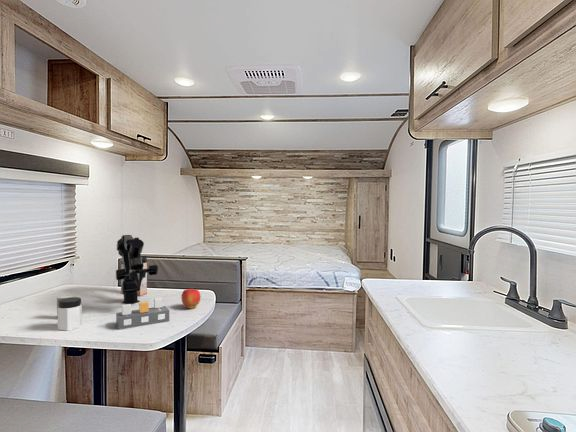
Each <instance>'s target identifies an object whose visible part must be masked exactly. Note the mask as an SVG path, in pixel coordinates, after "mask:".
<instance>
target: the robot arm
mask: <svg viewBox="0 0 576 432" xmlns="http://www.w3.org/2000/svg"><path fill="white" fill-rule="evenodd" d="M144 245H145V242H144V241H143V240H142V239H140V237H133V235H132V234H124V235H121V238H120V239H118V240H117V242H116V251H117V253H118V255H119V256H120V257H121V259H123V265H124V269H121V268H119V269H118V268H117V269H116V270H115V278H116V281H121V280H122V279H123V281H122V286H121V285H120V292H121V291H122V293H124V294H123V301H122V302H121V304H123V305H126V304H131V305H133V304H136V303H140V300H139V299H138V297H139V296H138V294H137V291H140V287H141V282H142V280H143V278H145V276H146V272H147V273H148V275H149V276H155V275H158V271H159V266H158V265H157V264H151V265H148V267H147V268H146V269H143V267H144V265H143V263H146V262H147V263H148V259H147V255H143V256H142V252H143V248H144ZM138 274H139V279H138Z"/></svg>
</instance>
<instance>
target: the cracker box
mask: <svg viewBox="0 0 576 432" xmlns="http://www.w3.org/2000/svg"><path fill="white" fill-rule="evenodd" d="M120 262H121V263H120V265H121V267H120V269H124V265H123V258H121V261H120ZM143 265H144V267H143V269H146V268H148V261H147V262H146V263H143ZM147 273H148V272H146V276H145V278H143V280H142V282H141V287H140V291H137V294H138V297H141V296H144V295H147V294H148V291H147V290H148V289H147V288H148V285H147V283H148V278H147V277H148V276H147V275H148V274H147ZM138 279H139V274H138ZM120 281H121V282H120V287H121V286H122V281H123V279H122V280H120ZM120 294H121V295H124V293H122V291H121V290H120Z"/></svg>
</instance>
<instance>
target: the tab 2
mask: <svg viewBox="0 0 576 432" xmlns="http://www.w3.org/2000/svg"><path fill="white" fill-rule="evenodd" d="M138 306H139V308H138V310H139V312H140V313H143V312H149V308H150V306H149V301H143V302H138Z"/></svg>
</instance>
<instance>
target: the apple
mask: <svg viewBox="0 0 576 432" xmlns="http://www.w3.org/2000/svg"><path fill="white" fill-rule="evenodd" d="M180 298H181V302H182V304H183V306H184V307H186V308H187V309H189V310H190V309H191V310H192V309H194V308H196V307H197V306H199V304H200V302H201V292H200V291H199V289H196V288H188V289H187V288H186V289H184V290H183V291H182V293H181V297H180Z"/></svg>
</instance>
